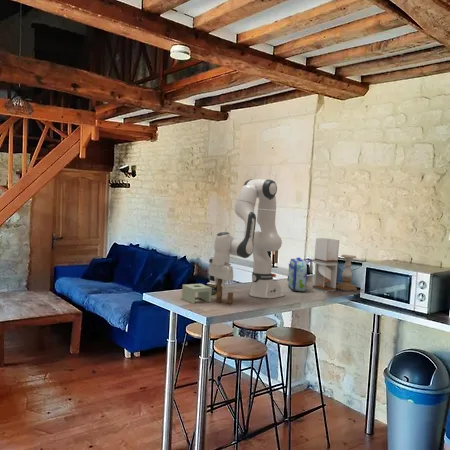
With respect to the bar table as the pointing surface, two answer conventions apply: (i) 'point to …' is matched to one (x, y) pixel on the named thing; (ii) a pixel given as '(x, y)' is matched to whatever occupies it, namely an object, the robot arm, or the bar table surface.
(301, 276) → the lunch box
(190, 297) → the bridge
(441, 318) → the bar table surface
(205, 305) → the bar table surface
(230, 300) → the short pin
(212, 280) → the medicine bottle
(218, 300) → the long pin
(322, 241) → the white stand
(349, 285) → the candle holder
